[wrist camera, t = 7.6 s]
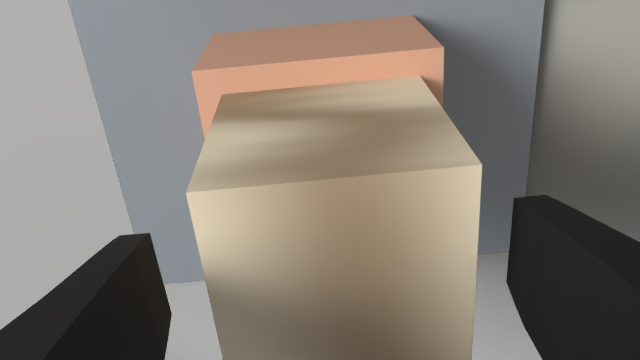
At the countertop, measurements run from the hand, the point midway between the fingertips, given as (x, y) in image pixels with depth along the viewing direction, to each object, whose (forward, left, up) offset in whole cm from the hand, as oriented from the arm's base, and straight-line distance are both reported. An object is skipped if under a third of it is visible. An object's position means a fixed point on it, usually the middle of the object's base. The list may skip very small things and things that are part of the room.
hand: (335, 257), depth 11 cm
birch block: (0, 0, -4) cm, 4 cm away
